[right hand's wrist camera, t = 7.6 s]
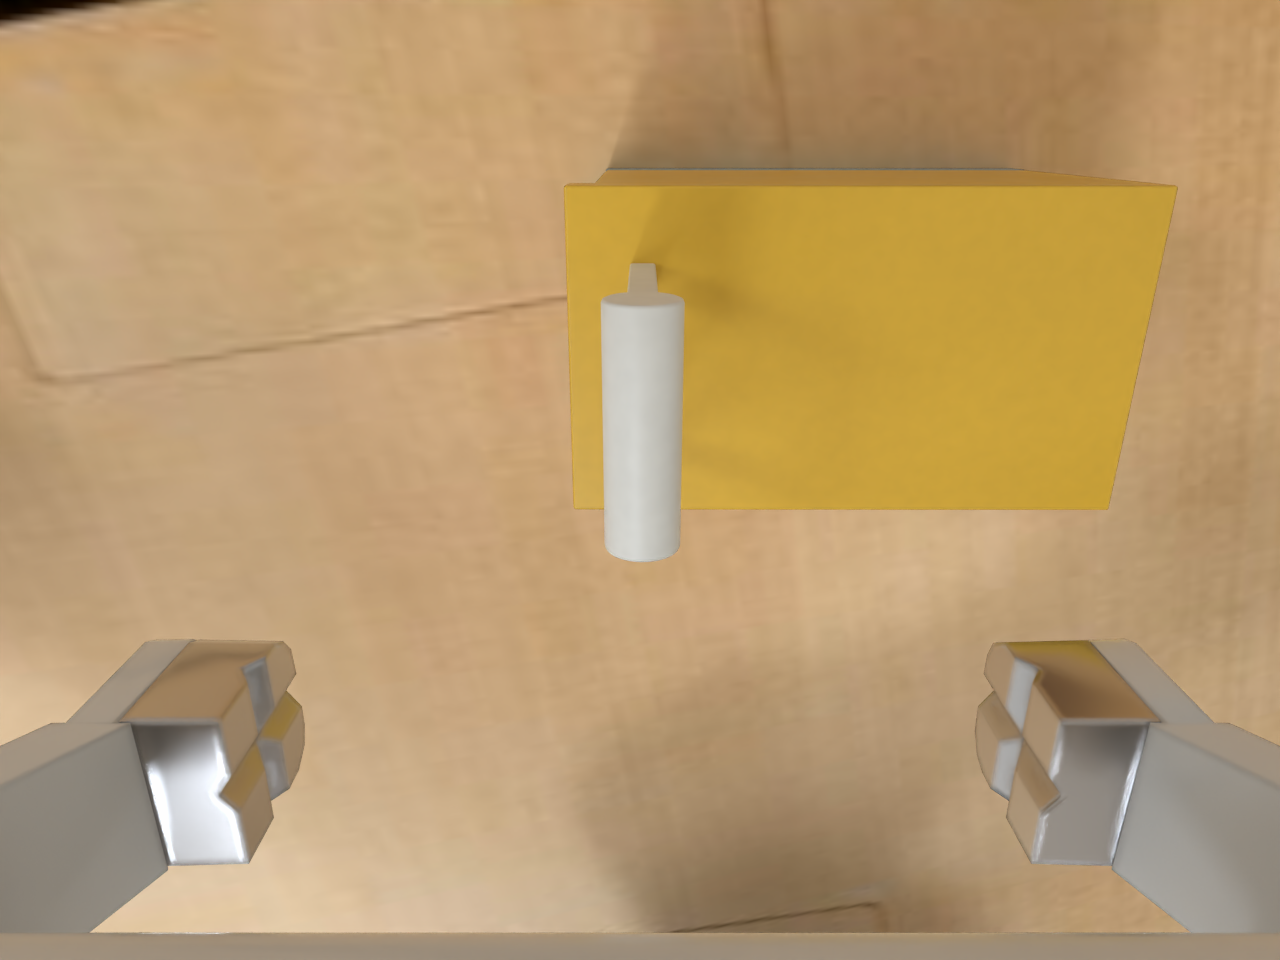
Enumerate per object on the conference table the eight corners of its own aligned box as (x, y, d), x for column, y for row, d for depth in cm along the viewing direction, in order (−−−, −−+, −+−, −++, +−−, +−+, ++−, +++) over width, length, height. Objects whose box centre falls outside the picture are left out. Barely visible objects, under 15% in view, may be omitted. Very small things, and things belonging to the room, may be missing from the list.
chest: (610, 402, 37) (599, 495, 28) (607, 168, 34) (593, 182, 24) (976, 403, 37) (1090, 496, 28) (1011, 168, 34) (1156, 182, 24)
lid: (576, 495, 28) (550, 636, 20) (567, 183, 24) (531, 207, 17) (1091, 496, 28) (1265, 637, 20) (1156, 183, 24) (1396, 207, 17)
